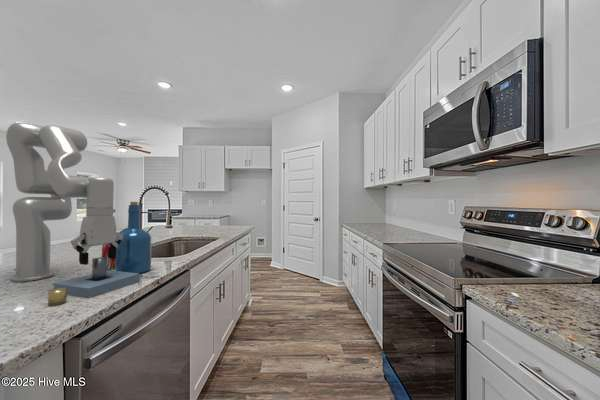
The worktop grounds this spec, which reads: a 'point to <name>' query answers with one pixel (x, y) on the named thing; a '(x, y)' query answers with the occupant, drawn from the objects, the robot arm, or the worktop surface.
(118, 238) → the robot arm
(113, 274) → the sleeve block
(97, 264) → the tall steel pin
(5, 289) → the worktop surface
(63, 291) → the short brass pin
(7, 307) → the worktop surface
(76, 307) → the worktop surface
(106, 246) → the soda can
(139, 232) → the wine bottle
